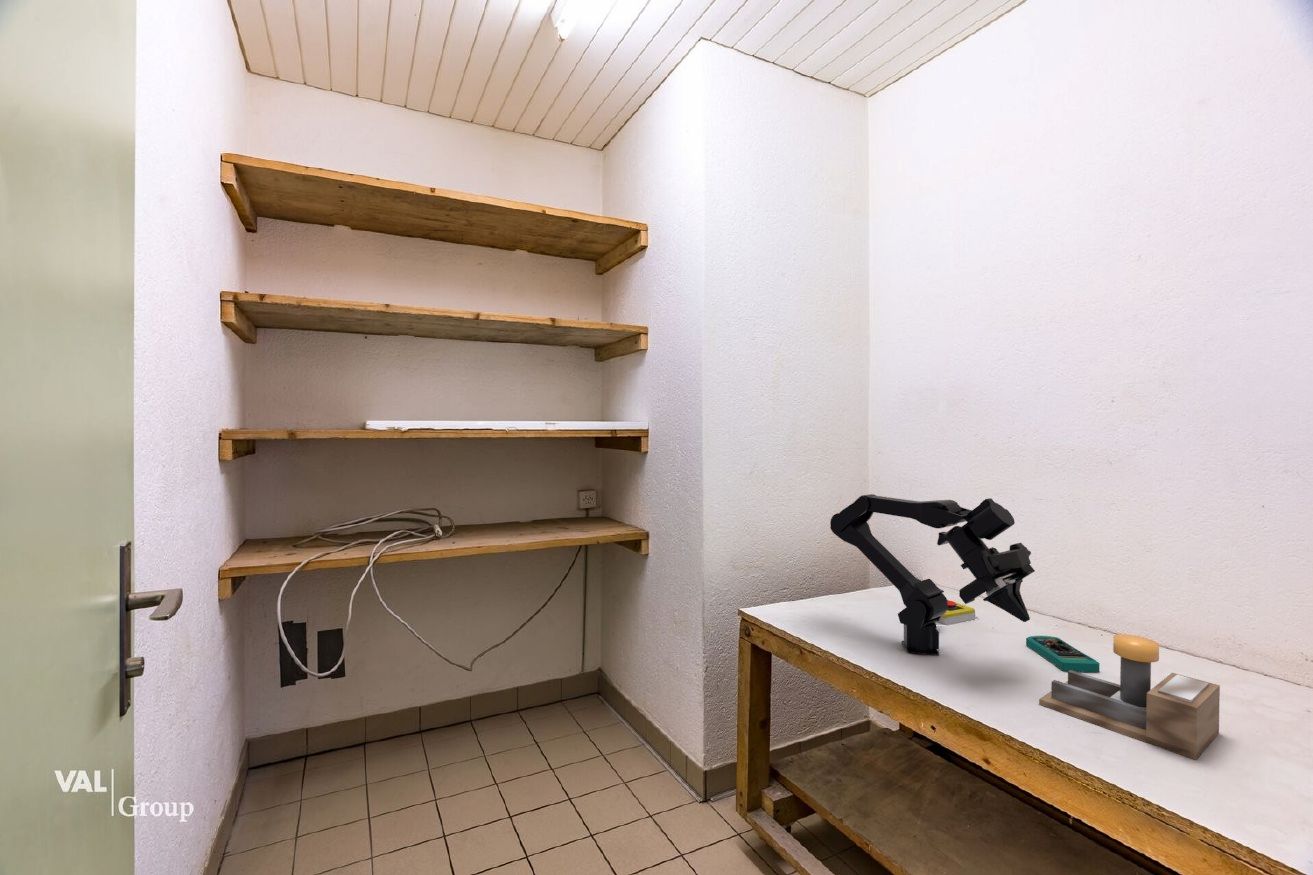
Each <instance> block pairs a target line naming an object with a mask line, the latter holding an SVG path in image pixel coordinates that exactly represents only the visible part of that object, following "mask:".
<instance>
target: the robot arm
mask: <svg viewBox="0 0 1313 875" xmlns="http://www.w3.org/2000/svg"><path fill="white" fill-rule="evenodd" d="M874 513H876V514H882V515H889V516H894V517H895V516H896V517H902V518H907V519H912V520H915V521H916V522H919V523H920V524H922V525H924V526H928V527H930V528H934V529H943V528H949V527H952V528H950V529H949V530H948V531H941V532H938V538H937V542H936V545H937V546H943V545H946V544H949V545H950V547H951V548H952V549H953V551H954V552H955V554H957V556H958V558H960V560H961V561H962V562H963V563H962V564H960V567H961V568H962V569H963V570H966V569H968V570H969V572H970V573H971V574H972V576H973V577H974V578H975V579H974V580H972V581H971V582H969V583H968V584H966V585H965V586H963V587H962V588H960V589H959V593H958V595H959V598H960V599H961V600H962V602H964V605H967V604H969V603H972V602H974V601H975V600H976V599H977V598H978V597H980V596H982V595H983V594H984V593H985V595H986V596H985V597H984V598H983V599H982V600H983V601H984V602H988V603H990V604H992V605H994V606H996V607H997V608H999V609H1001V610H1003V611H1005V612H1006V613H1008V614H1010V615H1011V616H1012V617H1014V618H1016V619H1018V620H1019V621H1022V622H1023V623H1026V622H1029V621H1030V620H1031V617H1030V615H1029V612H1028V609H1027V607H1026V605H1025V603H1024V599H1023V597H1022V594H1021V586H1022V583H1023V582H1024V581H1023V580H1024V579H1025V578H1027V577H1028V576H1030V575H1032V574H1033V573H1034V572H1036V571H1035V569H1034V568H1033V567H1032V565H1031V564H1032V562H1031V560H1030V556H1031V555H1032V551H1031V550H1029V549H1028V547H1026V546H1025V545H1024V544H1023V543H1022V542H1017V543H1013V544H1010V545H1009V550H1006V551H1001V552H999V550H998V549H997V548H996V547H993V546H992V547H988V546H987V544H986V543H985V542H984V541H983V539H985V540H987V541H991V540H993V539H995V538H996V537H998V536H999V535H1000V534H1002V533H1003V532H1005V531H1007V530H1008V529H1009V528H1011V527H1013V526H1014V525H1015V524H1016V523H1015V518H1014V517H1013V516H1014V515H1012V514H1011V512H1010V511H1009V510H1008V509H1007V508H1005V507H1003V506H1002V505H1001V504H1000V503H997V502H996V501H994V500H993V498H985V499H983V500H982V501H981V502H980V504H979V505H978V506H976V507H975V508H973V509H969V508H965V507H962V506H960V505H959V503H958V502H957V501H955V500H952V499H939V500H937V499H936V500H935V499H933V500H927V501H926V500H925V501H920V500H919V501H918V500H911V499H904V498H895V497H887V496H882V495H876V494H873V493H871V494H870V493H869V494H863V495H860V496H858V498H856V500H855V501H853V502H852V503H851V504H849V505H848V506H846V507H845V508H843V509H842V510H841V511H840V512H838V513H835V514H833V515H832V516H831V519H830V522H829V526H830V527H829V528H830V530H831V532H832V533H833V534H834V535H835V536H836V537H838V538H839V539H841V541H843V542H844V543H847V544H850V545H852V546H854V547H856V548H857V549H858V550H859V551H860V552H861V553H862V554H863V555H864V556H865V557H866V559H868V560H869V562H871V563H872V564H873V566H874V567H875V568H876V569H877V570H878V571H879V572H881V573H882V575H883V576H884V577H885V578H886V579H887V580H888V581H889V582H890V583H891V584H892V585H893V586H894V587H895V588H896V589H897V590H898V592H899V594H900V596H901V599H902V602H903V604H904V606H905V607H904V608H903V609H901V611H899V612H898V613H897V617H898V620H899V623H900V624H902V625H903V640H901V645H902V646H903V647H904V649H905V650H906V652H907V653H908V654H917V655H930V656H931V655H933V656H934V655H935V656H939V654H940V651H938V650H939V649H940V631H939V630H938V629H937V626H936V624H935V623H934V622H936V621H939V620H940V618H941V616H942V615H943V614H945V613H946V611H947V609H948V603H947V602H948V600H949V599H948V598H947V597H946V595H945V594H944V592H945V590H943V589H940V588H939V587H938V586H937V584H935V582H934V581H933V580H932V579H930V578H926V579H923V580H921V579H920V578H918V577H915V575H914V574H913V573H912V572H911V571H910V570H908V569H907V568H906V566H904V564H903V563H901V562H900V560H898V559H897V558H896V557H895V556H894V554H892V553H891V552H890V551H889V549H887V548H886V547H885V546H884V545H883V544H882V543H881V542H880V541H879V540H878V539H877V538H876V537H875V536H874V535H873V533H872V530H871V528H870V524H869V523H868V521H869V520H871V518H872V517H873V514H874ZM965 522H966V523H965ZM960 523H964V524H963V525H962V526H960V525H958V524H960ZM942 593H943V594H942Z"/></svg>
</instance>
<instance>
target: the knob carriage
mask: <svg viewBox="0 0 1313 875" xmlns="http://www.w3.org/2000/svg"><path fill="white" fill-rule="evenodd" d="M1112 637H1113V644H1112V646H1113V648H1112V649H1113V650H1112V651H1113V653H1114V654H1115V655H1117V656H1119V657H1120V665H1119V666H1120V676H1119V685H1120V691H1118V692H1117V693H1115V694H1114V695H1113V696H1111V697H1110V698H1113V699H1116V700H1119V701H1123V702H1126V703H1129V704H1132V705H1135V706H1138V707H1141V708H1145V709H1147V692H1149V691H1150V690H1151V689H1152V688H1151V687H1152V686H1151V685H1152V683H1151V681H1152V680H1151V679H1152V663H1157V662H1159V661H1160V644H1159V642H1157V641H1155V640H1153V639H1150V638H1148V637H1143V636H1140V635H1133V634H1125V633H1124V634H1121V633H1119V634H1115V635H1113V636H1112Z"/></svg>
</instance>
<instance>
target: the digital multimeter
mask: <svg viewBox="0 0 1313 875" xmlns="http://www.w3.org/2000/svg"><path fill="white" fill-rule="evenodd" d="M1025 646H1026V647H1027V648H1029V649H1031V650H1032V651H1033V652H1035V653H1037V654H1038V655H1040V656H1041V657H1043V658H1044V659H1045V660H1047V661H1048V662H1049V663H1051V664H1053V665H1054V666H1055V667H1057V668H1058V669H1059V670H1061V671H1062V672H1067V673H1068V671H1070V670H1072V671H1075V672H1079V673H1083V674H1086V673H1091V674H1092V673H1096V674H1097V673H1099V672H1100V663H1099V662H1098V661H1097V659H1094V658H1093V657H1091V656H1089V655H1087V654H1086V653H1084V652H1082V651H1081V650H1079V649H1077V648H1075V647H1074V646H1072V645H1071V644H1069V643H1067V642H1066V641H1064V640H1062V638H1059V637H1057V636H1050V635H1032V636H1028V637H1025Z"/></svg>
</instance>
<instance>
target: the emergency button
mask: <svg viewBox="0 0 1313 875" xmlns="http://www.w3.org/2000/svg"><path fill="white" fill-rule="evenodd" d="M947 600H948V602H947V603H948V609H947V611H946V613H945V614H943V615H942V616H941V618H940V620H939V621H936V625H946V626H950V625H955V624H962V623H967V622H966V621H968V622H972V621H971V620H973V621H976V620H975V619H978V618H979V619H980V617H979V616H976V610H975V608H974V607H971V606H967V605H966V604H962V603H959V602H955V601H953V600H949V599H947ZM979 619H978V620H979Z"/></svg>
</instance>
